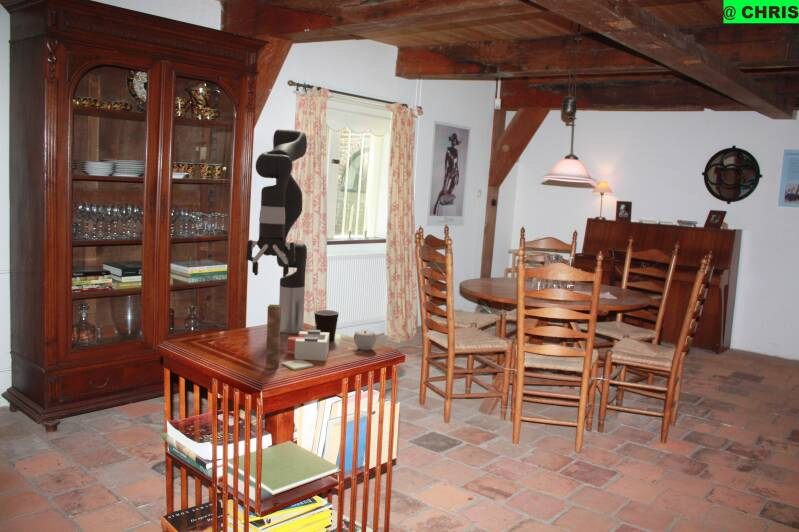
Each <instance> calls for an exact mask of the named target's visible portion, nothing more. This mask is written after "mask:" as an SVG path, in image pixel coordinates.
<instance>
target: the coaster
mask: <svg viewBox="0 0 799 532" xmlns="http://www.w3.org/2000/svg"><path fill="white" fill-rule="evenodd" d="M281 366H284V367H285V368H288V369H290V370H291V371H299V370H303V369H309V368H314V364H312V363H311V362H308V361H306V360H301V359H293V360H289V361H283V362H281Z"/></svg>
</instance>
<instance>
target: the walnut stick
mask: <svg viewBox="0 0 799 532" xmlns="http://www.w3.org/2000/svg"><path fill="white" fill-rule="evenodd" d="M266 321H267V322H266V324H267V325H266V351H265V352H266V353H265V355H266V356H265V369H274V368H276V369H279V367H280V355H281V353H280V351H281V350H280V349H281V332H280V326H281V305H279V304H269V305H268V306H267V320H266Z"/></svg>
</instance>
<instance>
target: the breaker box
mask: <svg viewBox="0 0 799 532" xmlns="http://www.w3.org/2000/svg"><path fill="white" fill-rule="evenodd" d="M298 337H305V339H297V338H296V340H295V350H294V360H299V359H301V360H303V361H306V360H307V361H309V360H310V361H327V357H328V353H329V348H330V347H329V346H330V342H329V333H327V332H321V330H316V329H308V330H307V331H306V330H305V331H304V330H303V331H300V332H299V333H298Z"/></svg>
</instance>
